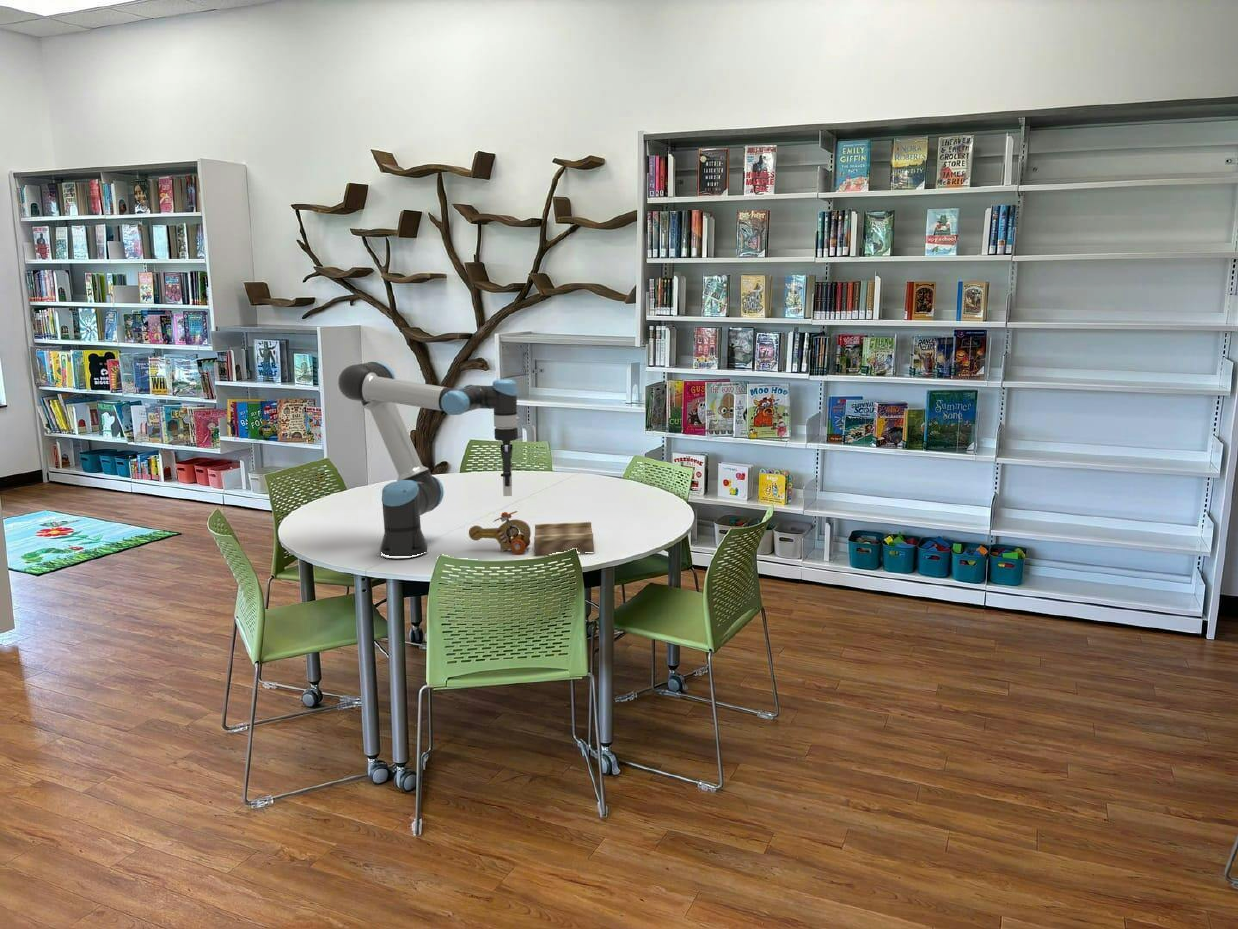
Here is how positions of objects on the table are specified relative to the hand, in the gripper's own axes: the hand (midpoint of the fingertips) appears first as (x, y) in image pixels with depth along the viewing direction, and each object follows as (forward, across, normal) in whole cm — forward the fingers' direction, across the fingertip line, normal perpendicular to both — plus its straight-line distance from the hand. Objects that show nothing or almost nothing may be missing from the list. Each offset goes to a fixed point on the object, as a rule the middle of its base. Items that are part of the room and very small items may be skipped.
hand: (507, 491), depth 309 cm
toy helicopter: (+20, -3, +2) cm, 20 cm away
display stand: (+19, -4, -18) cm, 26 cm away
